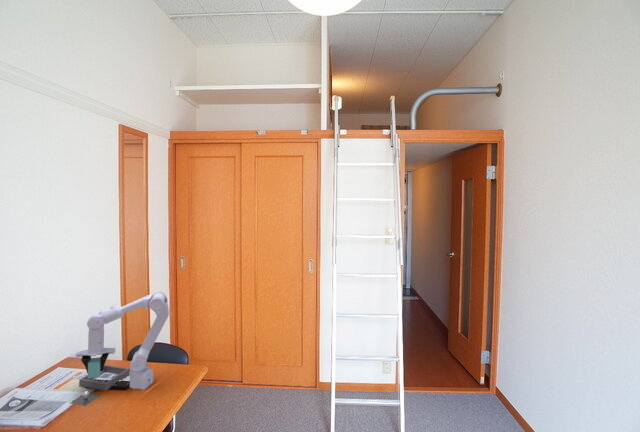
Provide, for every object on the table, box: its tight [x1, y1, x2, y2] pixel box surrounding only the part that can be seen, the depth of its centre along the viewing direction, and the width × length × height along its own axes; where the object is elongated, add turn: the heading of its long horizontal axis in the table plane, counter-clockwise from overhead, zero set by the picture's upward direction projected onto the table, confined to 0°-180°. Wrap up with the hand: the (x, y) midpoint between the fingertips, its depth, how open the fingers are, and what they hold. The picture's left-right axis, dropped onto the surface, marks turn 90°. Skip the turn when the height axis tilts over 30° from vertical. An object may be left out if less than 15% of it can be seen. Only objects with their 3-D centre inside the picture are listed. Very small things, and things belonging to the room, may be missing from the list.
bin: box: [78, 364, 130, 391], centre depth 149 cm, size 14×14×4 cm
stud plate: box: [70, 390, 102, 407], centre depth 135 cm, size 8×8×4 cm
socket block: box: [87, 356, 103, 379], centre depth 140 cm, size 4×4×7 cm
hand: (95, 370), depth 141 cm, fingers closed on socket block, 4 cm apart
